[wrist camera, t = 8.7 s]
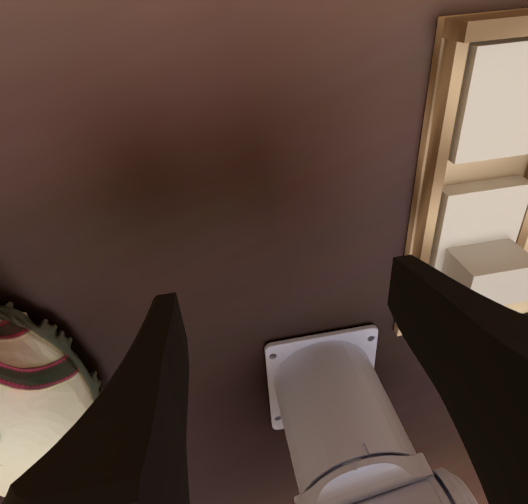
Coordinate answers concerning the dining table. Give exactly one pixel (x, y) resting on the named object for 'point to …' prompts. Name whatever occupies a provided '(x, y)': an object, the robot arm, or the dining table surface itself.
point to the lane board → (442, 124)
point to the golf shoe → (37, 391)
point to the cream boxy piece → (492, 190)
